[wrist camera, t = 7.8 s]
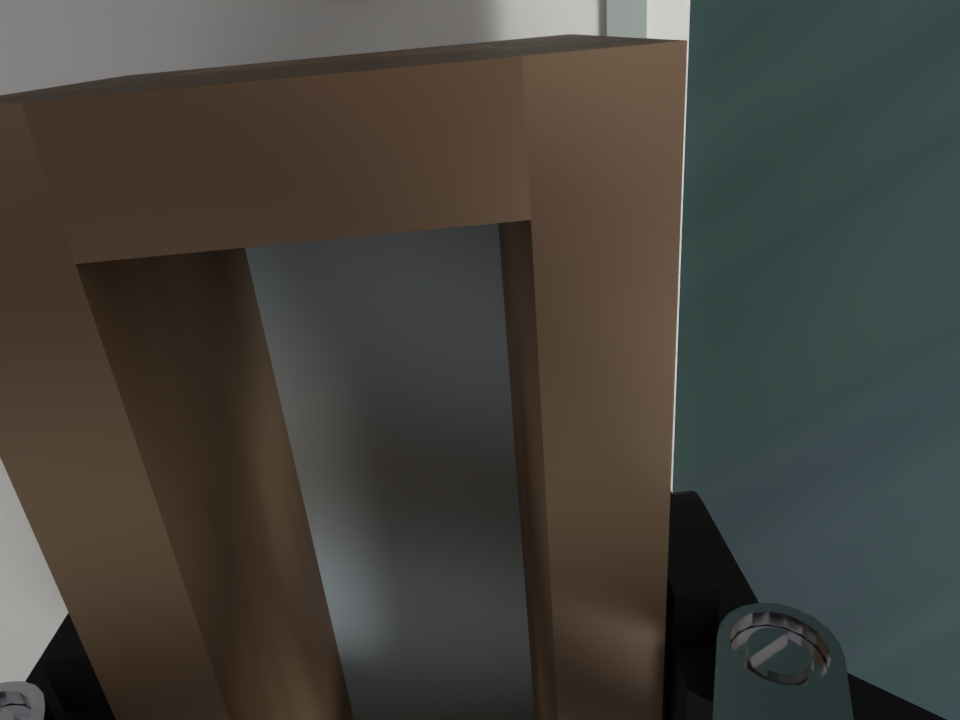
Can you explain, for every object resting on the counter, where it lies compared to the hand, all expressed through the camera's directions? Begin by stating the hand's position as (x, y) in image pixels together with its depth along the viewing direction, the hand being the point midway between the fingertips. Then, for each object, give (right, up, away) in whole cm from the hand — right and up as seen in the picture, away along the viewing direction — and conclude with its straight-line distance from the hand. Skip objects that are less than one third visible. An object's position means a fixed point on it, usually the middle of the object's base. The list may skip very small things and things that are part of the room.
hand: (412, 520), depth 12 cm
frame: (0, 0, +1) cm, 1 cm away
